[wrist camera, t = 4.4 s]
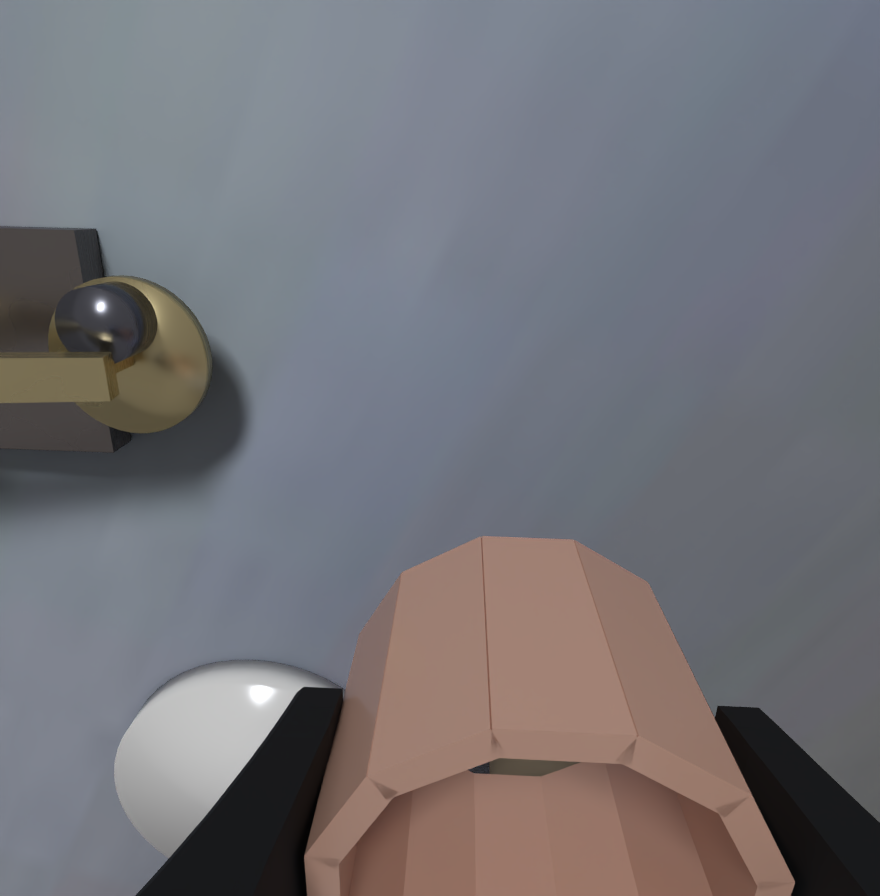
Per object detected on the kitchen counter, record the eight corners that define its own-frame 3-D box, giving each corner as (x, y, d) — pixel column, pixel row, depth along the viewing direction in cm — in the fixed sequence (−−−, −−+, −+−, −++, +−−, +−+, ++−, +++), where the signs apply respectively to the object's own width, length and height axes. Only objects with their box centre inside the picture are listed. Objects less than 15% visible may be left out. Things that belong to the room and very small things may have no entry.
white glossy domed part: (397, 866, 25) (393, 897, 24) (152, 852, 25) (137, 882, 24) (396, 666, 21) (393, 691, 20) (110, 653, 22) (91, 677, 20)
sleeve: (650, 797, 12) (733, 1061, 8) (363, 783, 12) (318, 1037, 8) (701, 545, 10) (843, 745, 6) (355, 531, 10) (292, 719, 6)
